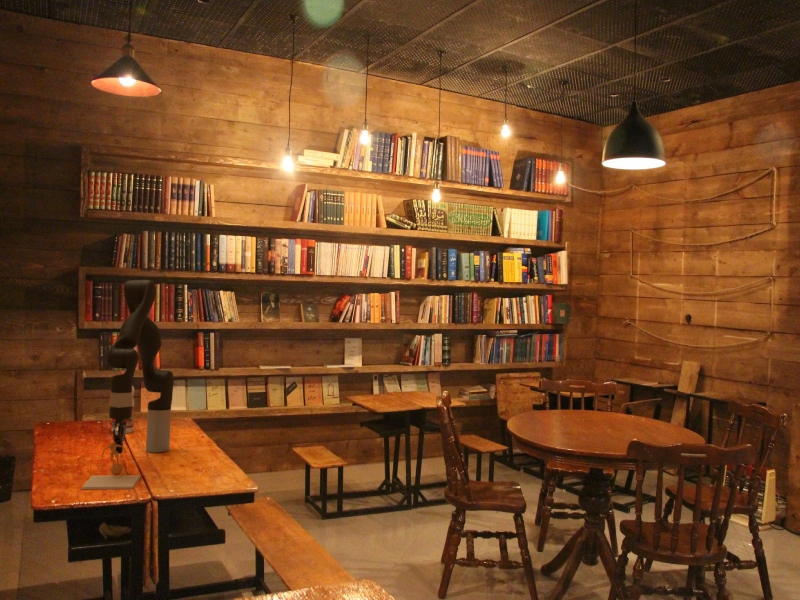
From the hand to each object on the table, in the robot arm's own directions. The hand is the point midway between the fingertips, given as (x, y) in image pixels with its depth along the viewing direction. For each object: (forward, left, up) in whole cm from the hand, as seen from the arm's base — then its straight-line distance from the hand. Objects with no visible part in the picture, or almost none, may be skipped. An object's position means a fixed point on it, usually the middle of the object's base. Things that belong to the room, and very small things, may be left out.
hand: (118, 453), depth 254 cm
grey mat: (+11, 0, -8) cm, 14 cm away
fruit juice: (-80, -13, -8) cm, 81 cm away
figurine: (0, 0, -7) cm, 7 cm away
